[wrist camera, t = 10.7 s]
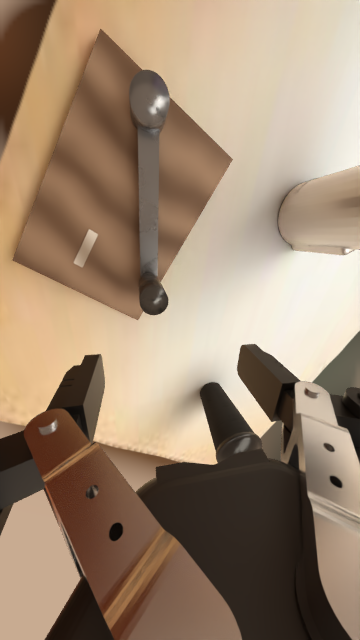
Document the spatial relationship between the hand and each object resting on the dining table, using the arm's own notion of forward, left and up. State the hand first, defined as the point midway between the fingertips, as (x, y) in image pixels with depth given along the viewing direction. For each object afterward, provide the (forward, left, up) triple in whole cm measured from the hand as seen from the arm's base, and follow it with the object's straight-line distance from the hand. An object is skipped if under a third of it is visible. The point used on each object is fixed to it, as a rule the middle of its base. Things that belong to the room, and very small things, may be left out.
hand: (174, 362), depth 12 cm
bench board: (+10, -2, -23) cm, 25 cm away
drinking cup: (-27, +1, -23) cm, 36 cm away
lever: (+9, -5, -21) cm, 23 cm away
